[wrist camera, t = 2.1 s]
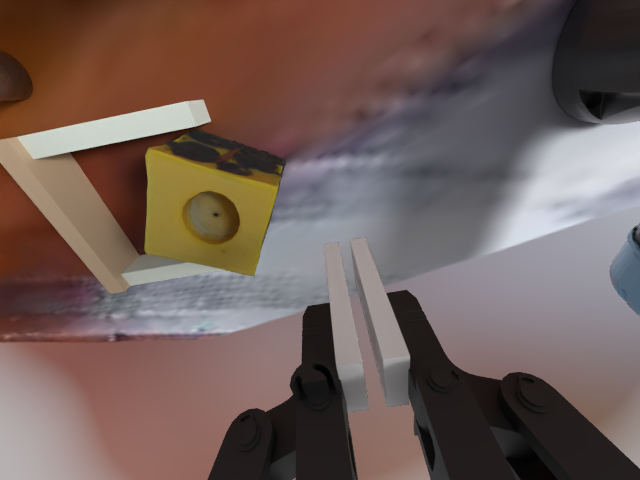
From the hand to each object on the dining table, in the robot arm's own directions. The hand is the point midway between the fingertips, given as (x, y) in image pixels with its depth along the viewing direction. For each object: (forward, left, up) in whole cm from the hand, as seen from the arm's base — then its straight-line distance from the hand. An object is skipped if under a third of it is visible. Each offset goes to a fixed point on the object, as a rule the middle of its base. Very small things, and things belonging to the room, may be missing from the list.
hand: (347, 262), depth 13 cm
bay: (+19, 0, -18) cm, 26 cm away
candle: (+11, 0, -19) cm, 22 cm away
